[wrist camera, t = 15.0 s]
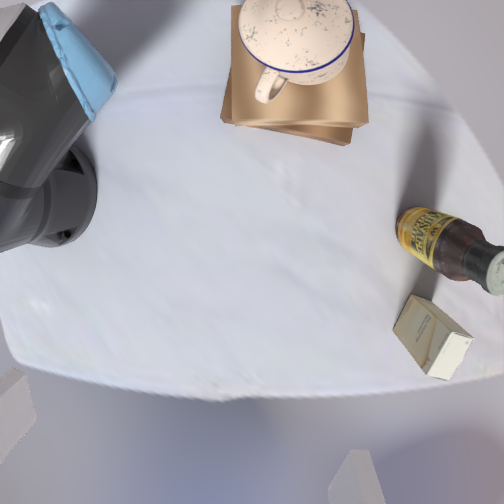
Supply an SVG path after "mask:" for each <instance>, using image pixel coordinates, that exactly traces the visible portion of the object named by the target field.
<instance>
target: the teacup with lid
mask: <svg viewBox="0 0 504 504" xmlns="http://www.w3.org/2000/svg"><path fill="white" fill-rule="evenodd" d="M354 28H355V23H354V16H353V12H352V10H351V7H350V5H349V3H348V2H347V0H245V1H244V3H243V5H242V7H241V10H240V14H239V21H238V29H239V34H240V38H241V40H242V43H243V45H244V46H245V48H246V49H247V51H248V52H249V53H250V54H251V55H252V56H253V57H254V58H255V59H256V60H257V61H259V62H260V63H262V64H263V65H265V66H266V67H265V69H264V71H263V73H262V74H261V76H260V78H259V80H258V83H257V85H256V89H255V98H256V99H257V100H258V101H260V102H262V103H265V104H267V103H270V102H271V101H273V100H274V99H275V98H276V97H277V96H278V95H279V94H280V92H281V91H282V89H283V88H284V86H285V85H286V83H287V81H289V82H292V83H295V84H300V85H316V84H321V83H324V82H326V81H329V80H331V79H332V78H334V77H335V76H336V75H338V74H339V73H340V72H341V70H342V69H343V68H344V66H345V65H346V63H347V60H348V57H349V51H350V43H351V41H352V38H353V34H354Z"/></svg>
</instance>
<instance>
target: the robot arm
mask: <svg viewBox="0 0 504 504" xmlns="http://www.w3.org/2000/svg"><path fill="white" fill-rule="evenodd" d="M38 11H39V12H36V11H35V10H33V9H32V8H30V7H29V6H28V5H26V4H25V3H21V4H17V5H13V6H9V7H5V8H0V253H1V252H4V251H7V250H10V249H13V248H15V247H18V246H21V245H24V244H32V245H37V246H42V247H49V248H52V247H59V246H62V245H65V244H68V243H70V242H72V241H74V240H75V239H77V238H78V237H79V236H80V235H81V234H82V233H83V232H84V231H85V230H86V228H87V227H88V225H89V223H90V221H91V219H92V216H93V213H94V210H95V206H96V198H97V186H96V179H95V174H94V171H93V168H92V166H91V164H90V162H89V160H88V158H87V157H86V156H85V154H84V153H83V152H82V151H81V150H80V149H78V148H77V147H75V146H74V145H73V143H74V142H75V141H76V140H77V138H78V137H79V136H80V135H81V133H82V132H83V131H84V130H85V128H86V127H87V126H88V125H89V124H90V122H93V121H94V120H95V118H96V114H97V113H98V112H99V111H100V109H101V108H102V107H103V106H104V104H105V103H106V102H107V101H108V100H109V98H110V97H111V96H112V95H113V93H114V92H115V90H116V87H117V76H116V73H115V71H114V70H113V68H112V67H111V66H110V65H109V63H108V62H107V61H106V60H105V59H104V57H103V56H102V55H101V54H100V53H99V52H98V50H97V49H96V48H95V47H94V46H93V45H92V44H91V42H90V41H89V40H88V39H87V38H86V37H85V36H84V35H83V33H82V32H81V31H80V30H79V29H78V28H77V27H76V26H75V25H74V23H73V22H72V21H71V20H70V19H69V18H68V17H67V16H66V15H65V14H64V13H63V12H62V11H61V10H60V9H59V8H58V6H57V5H56V4H54V3H53V2H49V3H47V4H45V5H43V6H41V7H40V8H39V9H38ZM36 420H37V418H36V414H35V410H34V406H33V402H32V398H31V394H30V390H29V385H28V381H27V376H26V373H24V372H22V371H20V370H18V369H16V368H14V367H13V368H12V369H10V370H9V371H8V372H7V373H6V374H5V375H4V376H2V377H1V378H0V464H1V463H2V462H3V460H4V459H5V458H6V457H7V455H8V454H9V453H10V452H11V450H12V449H13V448H14V447H15V446H16V444H17V443H18V442H19V441H20V440H21V438H22V437H23V436H24V435H25V434H26V432H27V431H28V430H29V429H30V428H31V427H32V425H33V424H34V423H35V422H36ZM327 492H328V498H329V503H330V504H386V503H385V500H384V497H383V494H382V491H381V488H380V485H379V481H378V478H377V475H376V472H375V469H374V466H373V463H372V460H371V457H370V454H369V451H368V450H350V452H349V453H348V455H347V457H346V459H345V460H344V462H343V464H342V466H341V467H340V469H339V471H338V472H337V474H336V476H335V478H334V479H333V481H332V483H331V484H330V486H329V487H328V489H327Z"/></svg>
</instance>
